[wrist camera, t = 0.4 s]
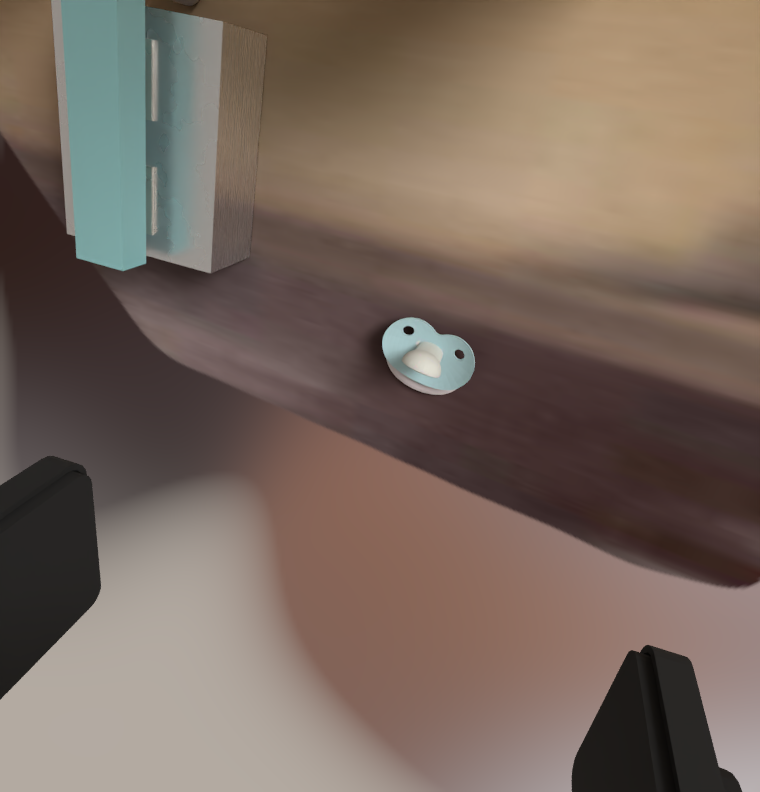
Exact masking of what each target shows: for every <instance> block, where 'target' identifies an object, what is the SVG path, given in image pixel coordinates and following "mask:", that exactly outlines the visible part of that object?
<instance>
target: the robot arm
mask: <svg viewBox="0 0 760 792" xmlns="http://www.w3.org/2000/svg"><path fill="white" fill-rule="evenodd" d="M94 514H95V513H94V502H93V491H92V482H91V479H90V477H89V476H87V474H86V470H85V468H84V467H83V466H82V465H79V464H77V463H73V462H70V461H67V460H64V459H60V458H58V457H54V456H47V457H45V458H43V459H41V460H39V461H38V462H36V463H35V464H33V465H32V466H30V467H28V468H27V469H25V470H24V471H23V472H21V473H19V474H18V475H16V476H14V477H13V478H11V479H10V480H8V481H7V482H5V483H3V484H2V485H0V699H1V698H2V697H3V696H4V695H5V694H6V693H7V692H8V691H9V690H10V689H11V688H12V687H13V686H14V685H15V684H16V683H17V682H18V681H19V680H20V679H21V678H22V677H23V676H24V675H25V674H26V673H27V672H28V671H29V670H30V669H31V668H32V667H33V666H34V665H35V663H36V662H37V661H38V660H39V659H40V658H41V657H42V656H43V655H44V654H45V653H46V652H47V651H48V650H49V649H50V648H51V647H52V646H53V645H54V644H55V643H56V642H57V641H58V640H59V639H60V638H61V637H62V636H63V635H64V634H65V633H66V632H67V631H68V630H69V629H70V628H71V627H72V626H73V625H74V624H75V622H77V620H78V619H79V618H80V617H81V616H82V615H83V614H84V613H85V612H86V611H87V610H88V609H89V608H90V607H91V606H92V605H93V604H94V602H95V601H96V599H97V597H98V595H99V592H100V589H101V581H100V570H99V558H98V547H97V536H96V524H95V515H94ZM572 792H742V790H741V788H740V785H739V782H738V781H737V779H736V778H735V777H734V776H733V774H732V773H731V772H729V771H727V770H725V769H722V768H719V767H718V763H717V759H716V755H715V751H714V747H713V743H712V739H711V735H710V731H709V728H708V724H707V720H706V716H705V712H704V708H703V704H702V700H701V696H700V692H699V688H698V685H697V681H696V677H695V673H694V669H693V666H692V663H691V661H690V660H689V659H688V658H687V657H685V656H682V655H679V654H675V653H672V652H669V651H666V650H663V649H660V648H656V647H653V646H650V645H646V646H645V647H643V649H642V650H641V652H640V653H639V652H636V651H633V650H631V651H629V652H628V654H627V656H626V658H625V660H624V662H623V664H622V666H621V667H620V669H619V671H618V673H617V675H616V677H615V679H614V681H613V683H612V685H611V687H610V689H609V691H608V693H607V695H606V697H605V699H604V701H603V703H602V705H601V707H600V709H599V711H598V713H597V715H596V717H595V719H594V721H593V723H592V725H591V727H590V729H589V731H588V733H587V735H586V737H585V739H584V741H583V743H582V745H581V747H580V748H579V750H578V752H577V755H576V757H575V760H574V765H573V770H572Z"/></svg>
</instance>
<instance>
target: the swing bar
mask: <svg viewBox="0 0 760 792" xmlns="http://www.w3.org/2000/svg"><path fill="white" fill-rule="evenodd" d="M171 1H174V2H177V3H180V4H183V5H187V6H192V5H194V4H196V3H197V2H198V1H199V0H171ZM61 12H62V28H63V44H64V61H65V77H66V93H67V110H68V126H69V142H70V159H71V175H72V191H73V208H74V224H75V240H76V257H77V258H78V259H82V260H85V261H89V262H92V263H96V264H100V265H103V266H107V267H110V268H114V269H117V270H121V271H125V270H128V269H131V268H134V267H137V266H140V265H143V264H146V111H145V0H61Z"/></svg>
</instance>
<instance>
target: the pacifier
mask: <svg viewBox="0 0 760 792" xmlns="http://www.w3.org/2000/svg"><path fill="white" fill-rule="evenodd" d="M406 326H411V327H412V328H413V329H414V333H413V334H411V335H408V334H405V333H404V331H403V328H404V327H406ZM382 348H383V352H384V355H385V357H386V360H387V364H388V366H389V368H390V370H391V371H392V373H393V374H394V375H395V376H396V377H397V378H398V379H399V380H400V381H401V382H403V383H404V384H405V385H407V386H409V387H411V388H412V389H415V390H417V391H420V392H422V393H427V394H432V395H442V394H447V393H451V392H452V391H454V390H456V389H457V388H459V387H461V386H463V385H464V384H466V383H467V382H468V381H469V379H470V378H471V376H472V374H473V371H474V367H475V358H474V354H473V351H472V349H471V348H470V346H469V345H468V344H467V343H466V342H465V341H464V340H463V339H461V338H460V337H457V336H454V335H449V334H445V335H441V334H438V333H437V332H436V331H435V330H434V328H433V327H432V326H431V325H430V324H429V323H427V322H426V321H424V320H421V319H419V318H413V317H409V318H402V319H400V320H398V321H396V322H394V323H393V324H392V325H390V327H389V328H388V329H387V330H386V332H385V334H384V336H383V340H382ZM457 349H460V350H462V351H463V352H464V355H465V357H464V358H463V359H458V358H457V357H456V356H455V350H457Z"/></svg>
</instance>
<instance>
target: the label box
mask: <svg viewBox="0 0 760 792" xmlns="http://www.w3.org/2000/svg"><path fill="white" fill-rule="evenodd" d="M51 4H52V19H53V34H54V48H55V63H56V78H57V93H58V108H59V122H60V137H61V152H62V167H63V181H64V196H65V211H66V226H67V234H69V235H73V236H75V224H74V208H73V191H72V175H71V159H70V142H69V126H68V110H67V93H66V77H65V61H64V44H63V28H62V12H61V0H51ZM266 45H267V35H264V34H261V33H258V32H255V31H252V30H248V29H245V28H242V27H239V26H236V25H233V24H229V23H226V22H223V21H218V20H213V19H208V18H203V17H198V16H193V15H188V14H183V13H178V12H173V11H168V10H162V9H157V8H152V7H147V6H145V111H146V256H149V257H153V258H156V259H160V260H164V261H167V262H171V263H175V264H178V265H182V266H185V267H189V268H193V269H196V270H200V271H204V272H207V273H213V272H215V271H218V270H220V269H223V268H225V267H227V266H230V265H232V264H234V263H237V262H239V261H242V260H244V259H246V258H249V257H250V246H251V234H252V221H253V209H254V196H255V183H256V171H257V158H258V146H259V133H260V120H261V108H262V95H263V83H264V70H265V57H266Z"/></svg>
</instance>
